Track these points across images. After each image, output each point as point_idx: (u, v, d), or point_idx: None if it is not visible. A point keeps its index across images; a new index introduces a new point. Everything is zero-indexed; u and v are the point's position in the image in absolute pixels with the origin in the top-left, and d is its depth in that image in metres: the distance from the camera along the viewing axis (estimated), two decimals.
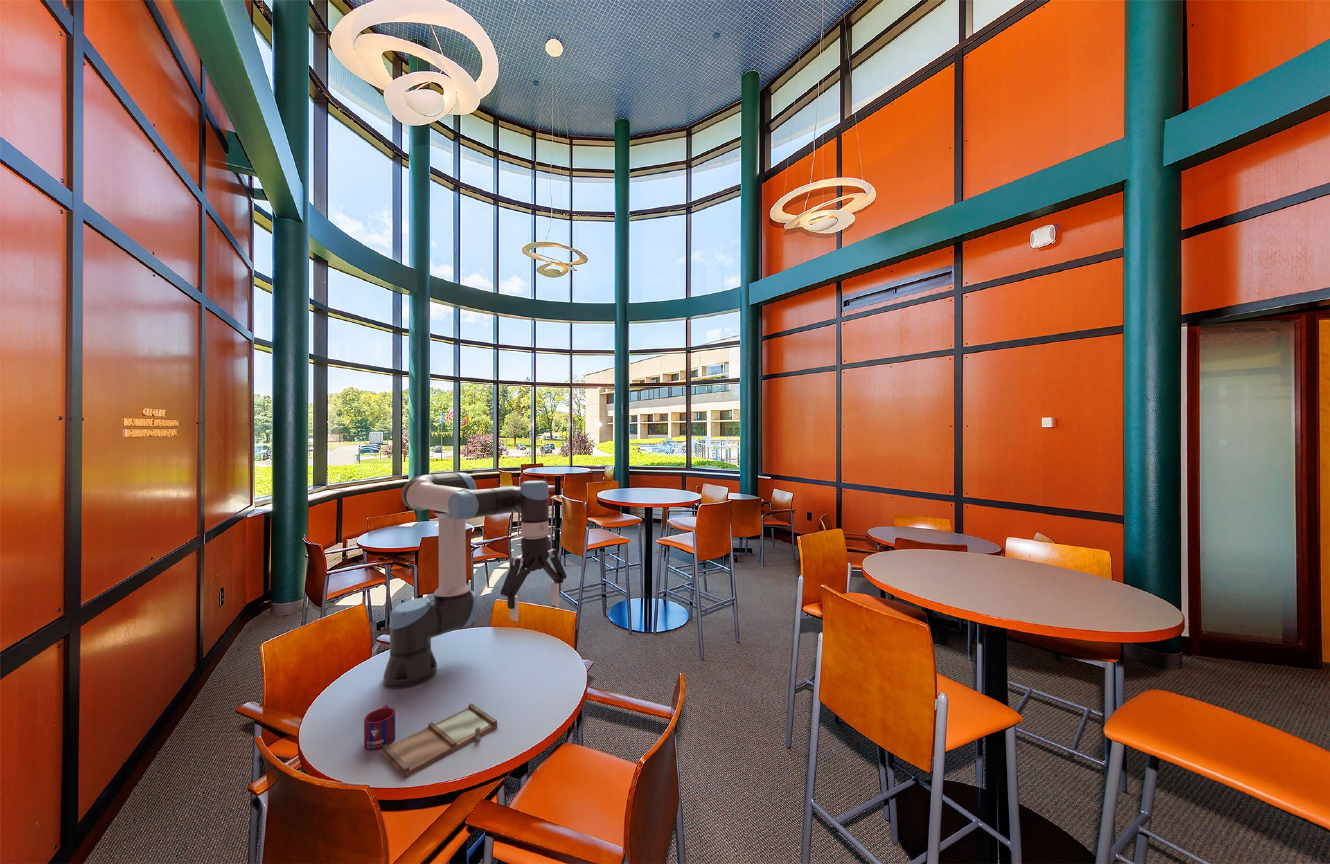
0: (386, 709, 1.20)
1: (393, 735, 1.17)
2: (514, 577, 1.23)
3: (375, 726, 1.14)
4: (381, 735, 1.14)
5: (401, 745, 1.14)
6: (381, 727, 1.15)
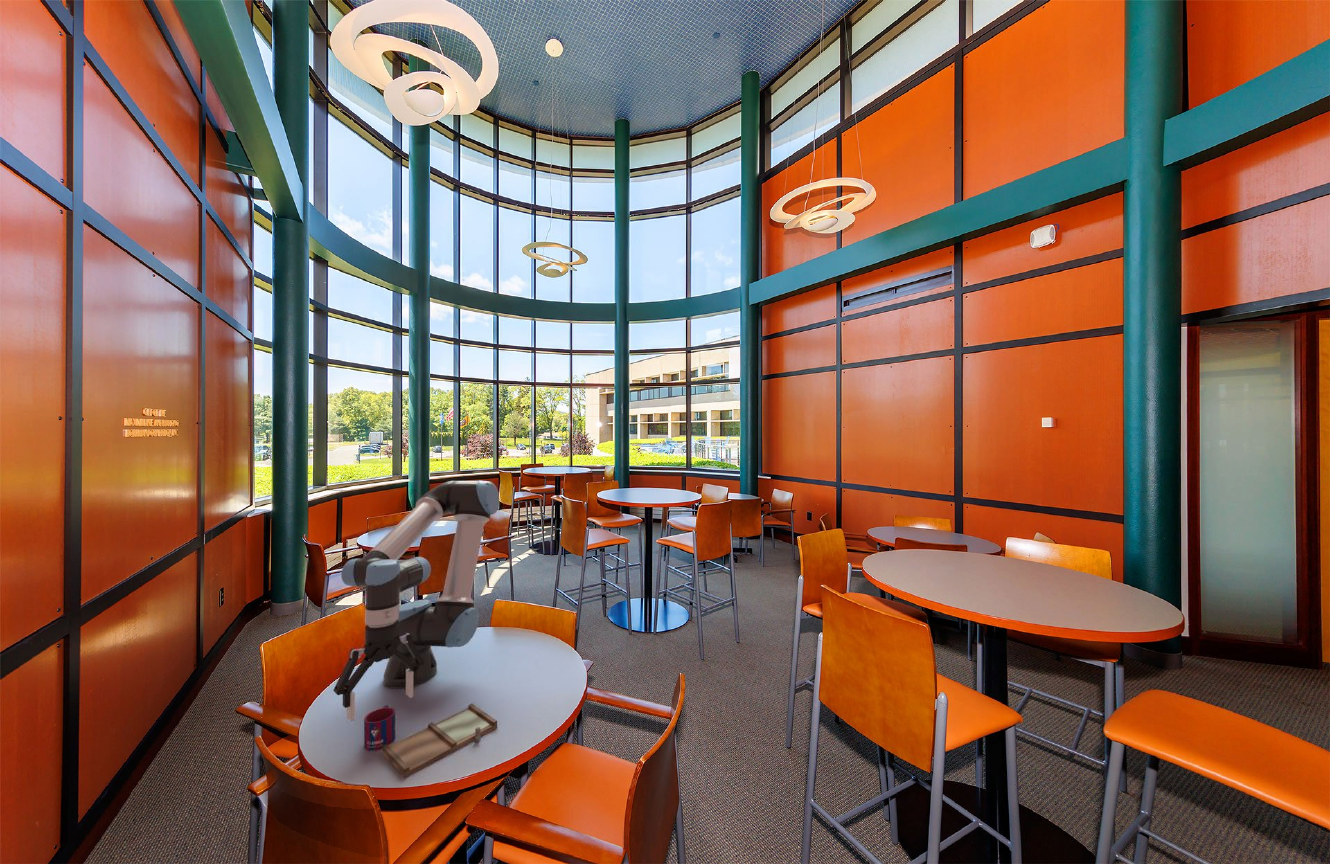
0: (386, 709, 1.20)
1: (393, 735, 1.17)
2: (350, 672, 1.12)
3: (375, 726, 1.14)
4: (381, 735, 1.14)
5: (401, 745, 1.14)
6: (381, 727, 1.15)
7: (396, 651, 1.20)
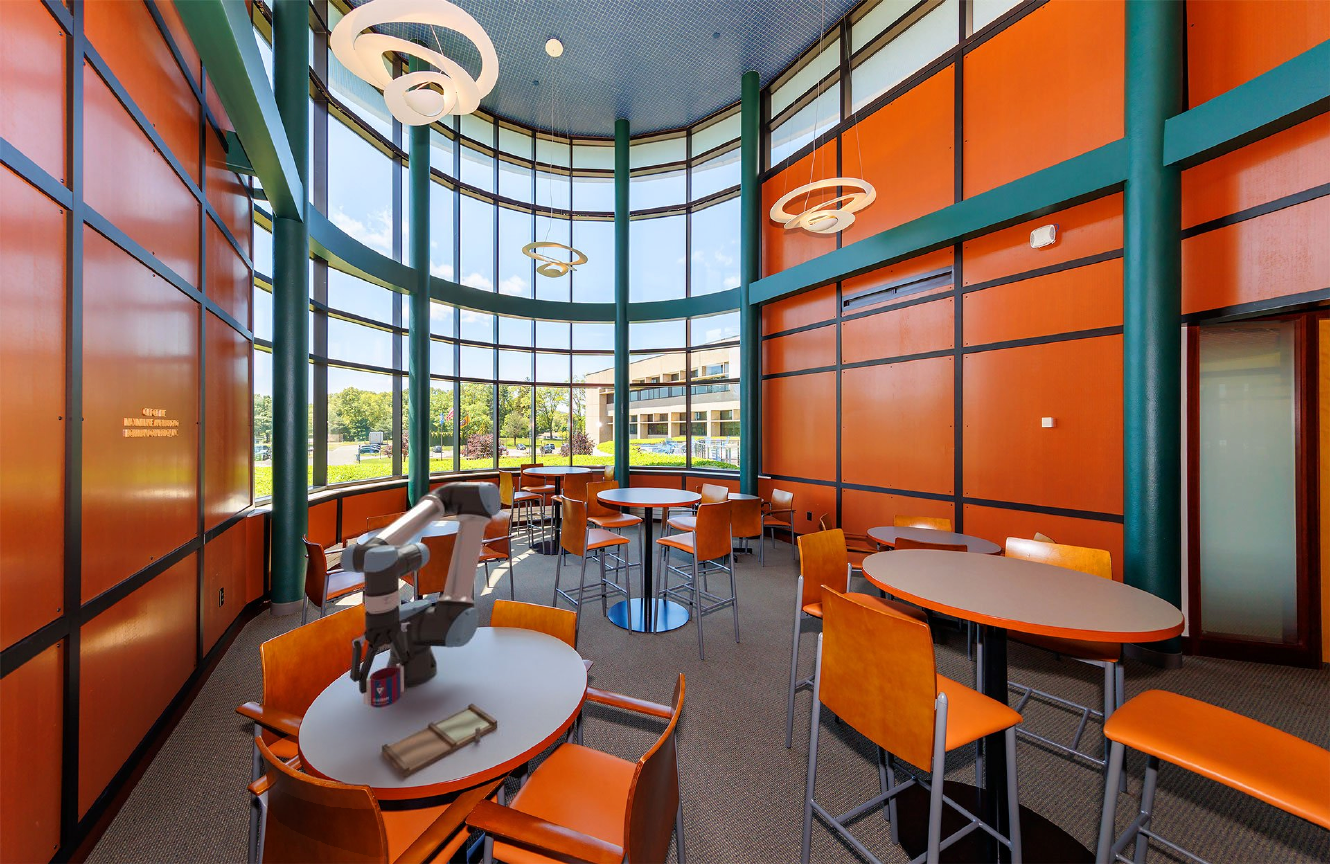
0: (391, 668, 1.21)
1: (398, 693, 1.19)
2: (358, 660, 1.14)
3: (380, 684, 1.15)
4: (387, 693, 1.16)
5: (401, 745, 1.14)
6: (386, 685, 1.16)
7: (395, 638, 1.20)
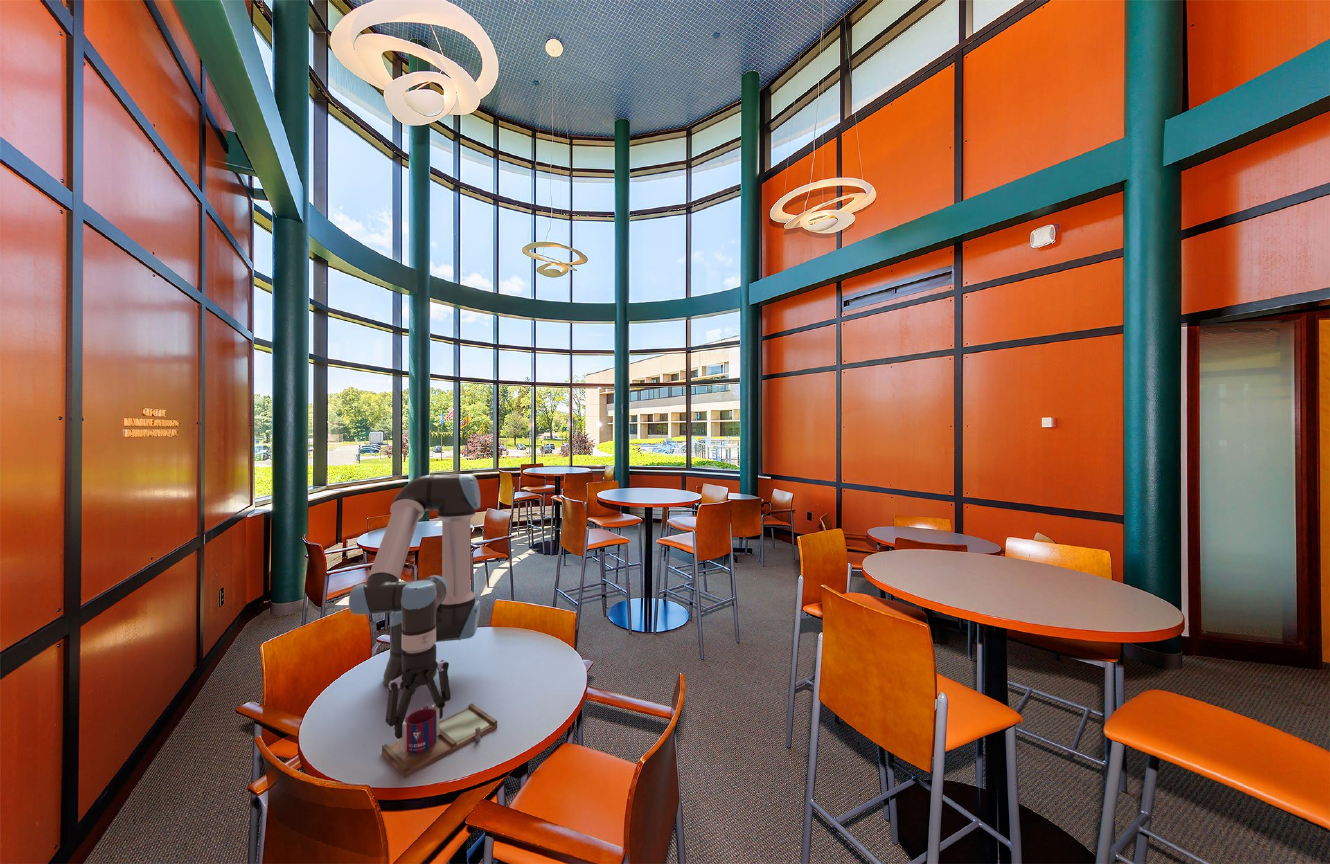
0: (426, 710, 1.16)
1: (435, 737, 1.13)
2: (395, 703, 1.08)
3: (417, 728, 1.09)
4: (423, 737, 1.10)
5: None
6: (423, 729, 1.10)
7: (431, 679, 1.14)
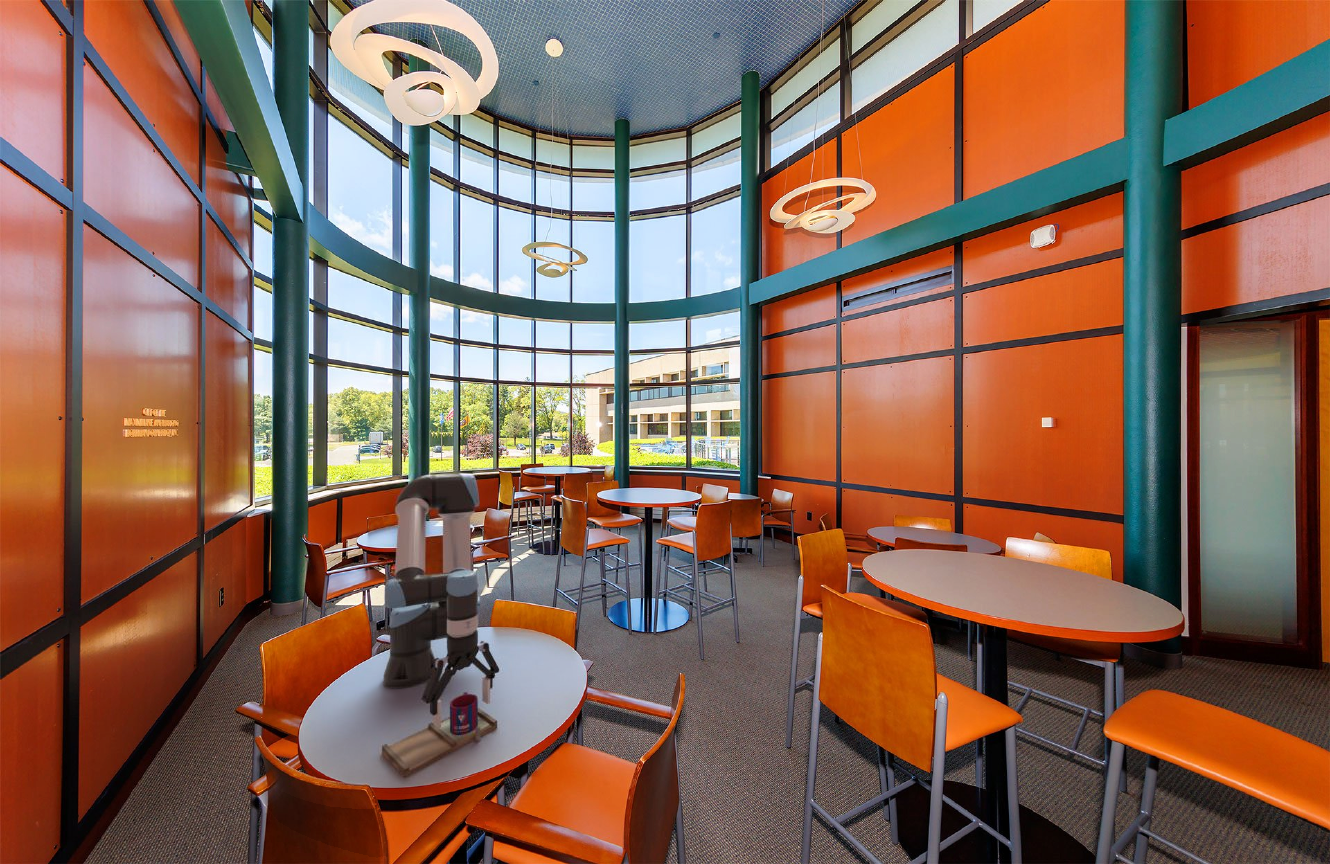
0: (467, 696, 1.24)
1: (477, 720, 1.21)
2: (436, 681, 1.16)
3: (462, 711, 1.18)
4: (467, 720, 1.18)
5: (401, 745, 1.14)
6: (467, 712, 1.18)
7: (475, 659, 1.23)
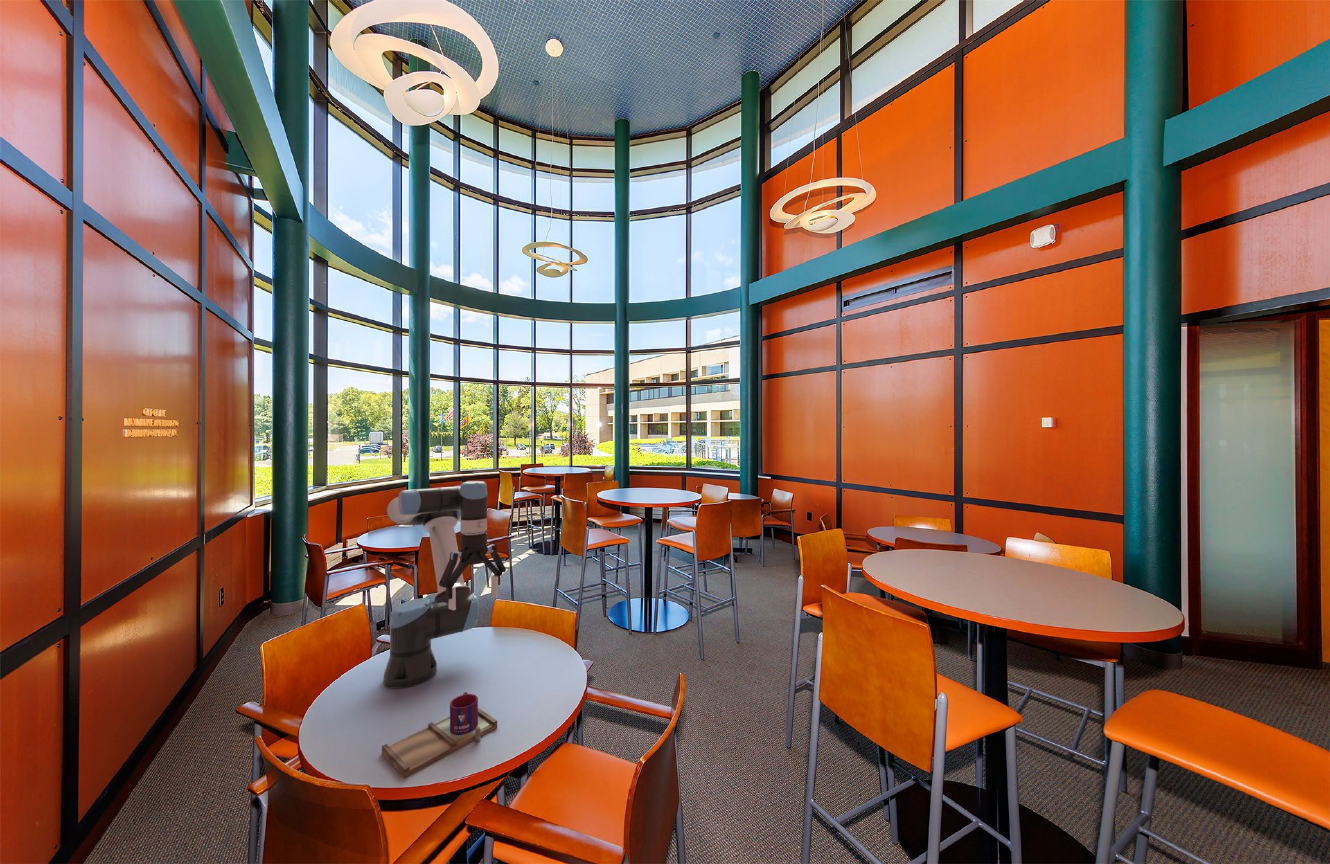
0: (467, 696, 1.24)
1: (477, 720, 1.21)
2: (451, 570, 1.34)
3: (462, 711, 1.18)
4: (468, 720, 1.18)
5: (401, 745, 1.14)
6: (467, 712, 1.18)
7: (485, 557, 1.42)
